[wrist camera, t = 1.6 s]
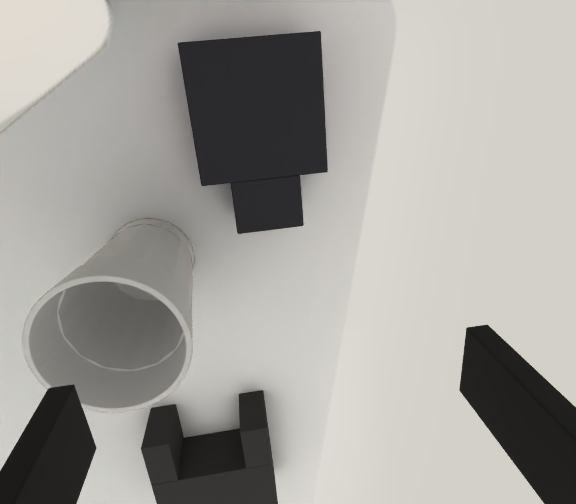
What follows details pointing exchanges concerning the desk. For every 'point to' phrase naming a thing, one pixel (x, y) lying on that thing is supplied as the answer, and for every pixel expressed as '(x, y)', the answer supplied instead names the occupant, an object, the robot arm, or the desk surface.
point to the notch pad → (211, 459)
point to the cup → (118, 321)
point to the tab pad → (258, 121)
